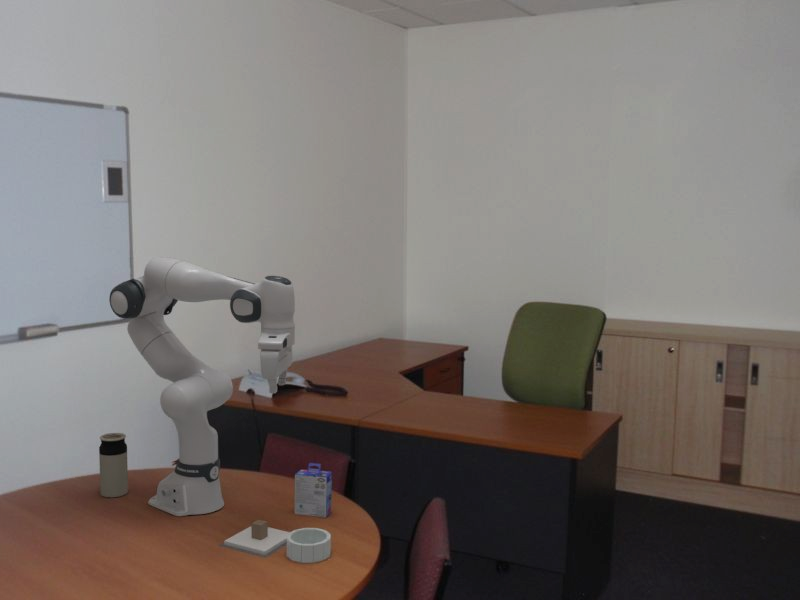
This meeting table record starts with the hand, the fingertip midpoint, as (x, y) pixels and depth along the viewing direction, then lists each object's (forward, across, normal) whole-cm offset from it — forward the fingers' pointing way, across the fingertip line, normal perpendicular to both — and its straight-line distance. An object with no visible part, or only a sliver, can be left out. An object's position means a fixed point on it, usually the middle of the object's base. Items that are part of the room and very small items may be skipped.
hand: (277, 388), depth 221 cm
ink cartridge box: (+40, -14, +7) cm, 43 cm away
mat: (+40, +8, -3) cm, 41 cm away
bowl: (+40, +14, +12) cm, 44 cm away
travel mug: (+40, -21, -56) cm, 72 cm away
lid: (+39, +8, -3) cm, 40 cm away
